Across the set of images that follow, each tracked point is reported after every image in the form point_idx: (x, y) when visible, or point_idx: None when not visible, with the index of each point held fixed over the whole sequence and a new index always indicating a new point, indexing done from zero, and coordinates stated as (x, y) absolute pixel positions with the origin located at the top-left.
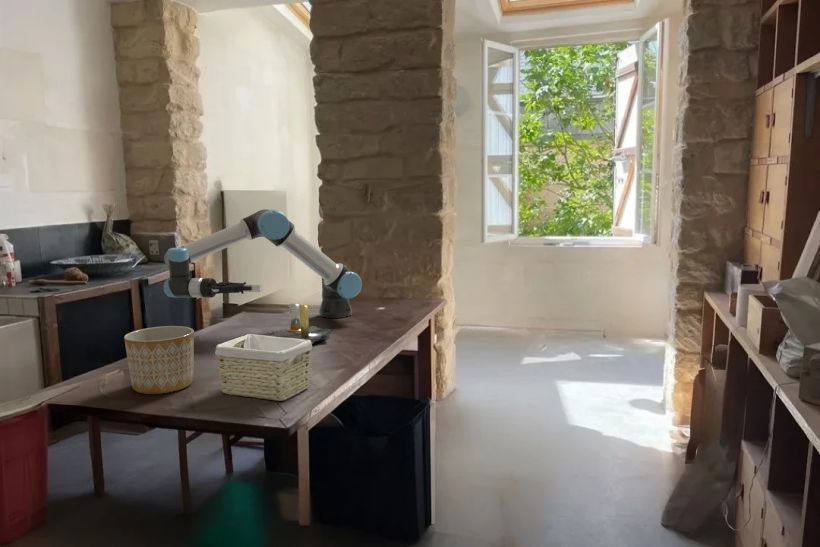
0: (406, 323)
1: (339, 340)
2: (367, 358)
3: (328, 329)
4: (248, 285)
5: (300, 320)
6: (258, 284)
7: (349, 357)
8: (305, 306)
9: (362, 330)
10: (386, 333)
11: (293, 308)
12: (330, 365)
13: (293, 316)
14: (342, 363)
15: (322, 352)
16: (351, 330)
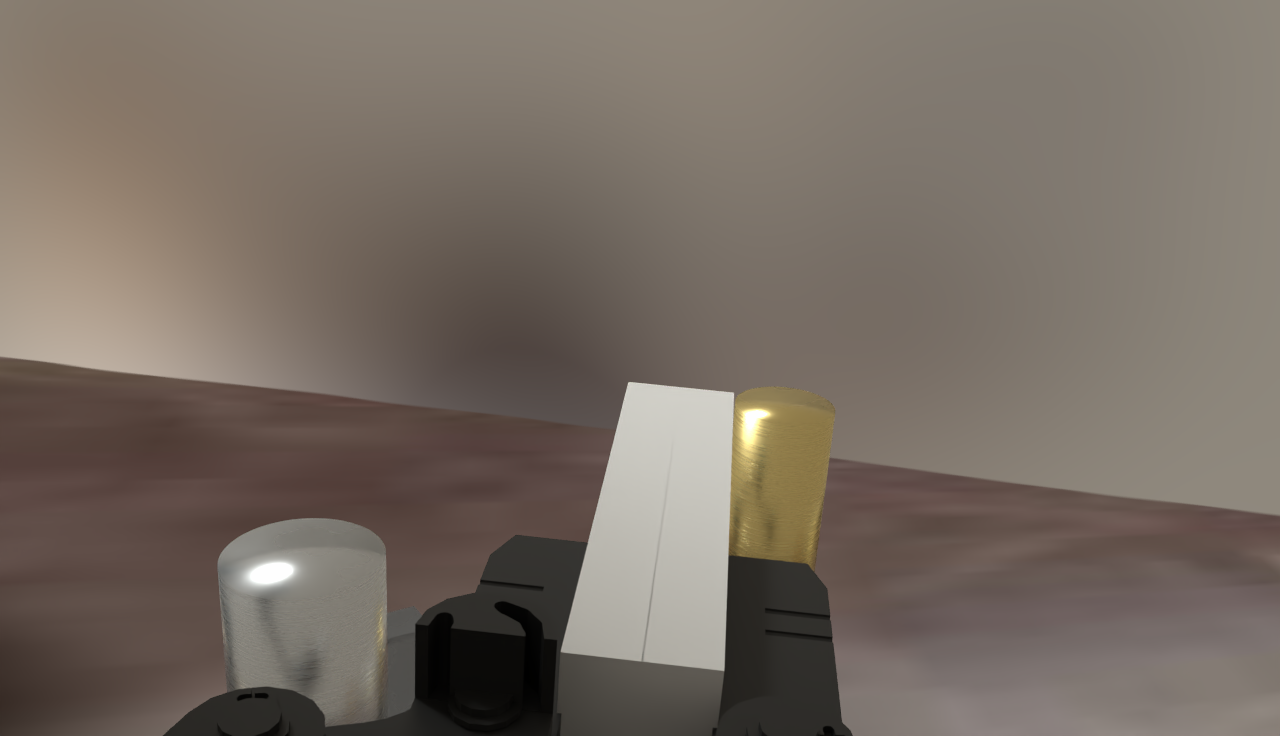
0: (37, 384)
1: None
2: (992, 492)
3: (389, 617)
4: (725, 583)
5: None
6: (697, 408)
7: (1009, 549)
8: (817, 395)
9: (169, 531)
10: (326, 444)
11: (386, 604)
12: (1247, 607)
13: (385, 713)
14: (1163, 566)
15: (942, 674)
16: (135, 582)
